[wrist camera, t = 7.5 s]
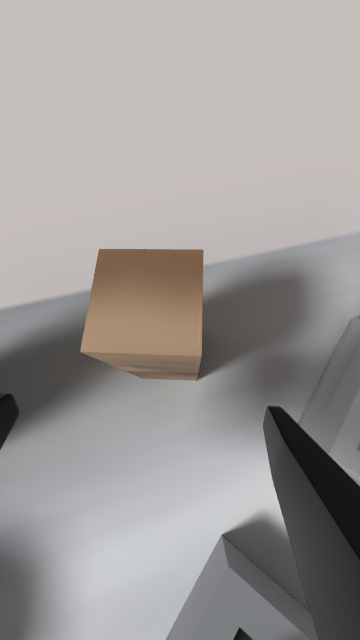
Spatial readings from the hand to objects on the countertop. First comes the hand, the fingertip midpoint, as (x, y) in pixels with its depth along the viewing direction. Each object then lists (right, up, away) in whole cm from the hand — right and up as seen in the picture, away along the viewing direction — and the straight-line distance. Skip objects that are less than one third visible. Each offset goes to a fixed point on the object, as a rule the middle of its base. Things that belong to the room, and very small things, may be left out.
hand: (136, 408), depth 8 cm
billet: (+1, 0, +11) cm, 11 cm away
